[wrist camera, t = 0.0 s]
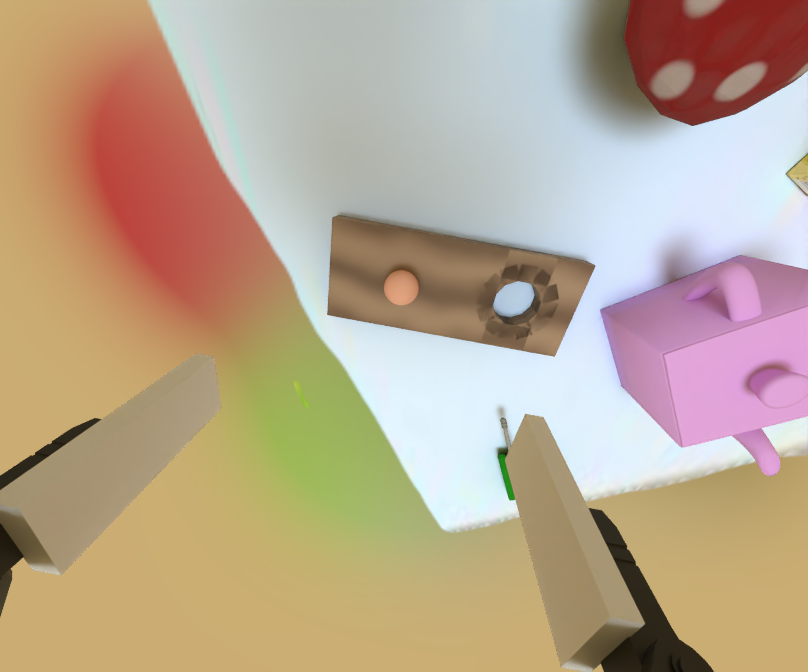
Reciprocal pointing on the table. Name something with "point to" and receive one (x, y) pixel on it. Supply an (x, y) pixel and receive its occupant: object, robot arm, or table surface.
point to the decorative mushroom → (715, 53)
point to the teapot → (718, 353)
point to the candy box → (800, 174)
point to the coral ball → (401, 287)
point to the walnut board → (452, 285)
